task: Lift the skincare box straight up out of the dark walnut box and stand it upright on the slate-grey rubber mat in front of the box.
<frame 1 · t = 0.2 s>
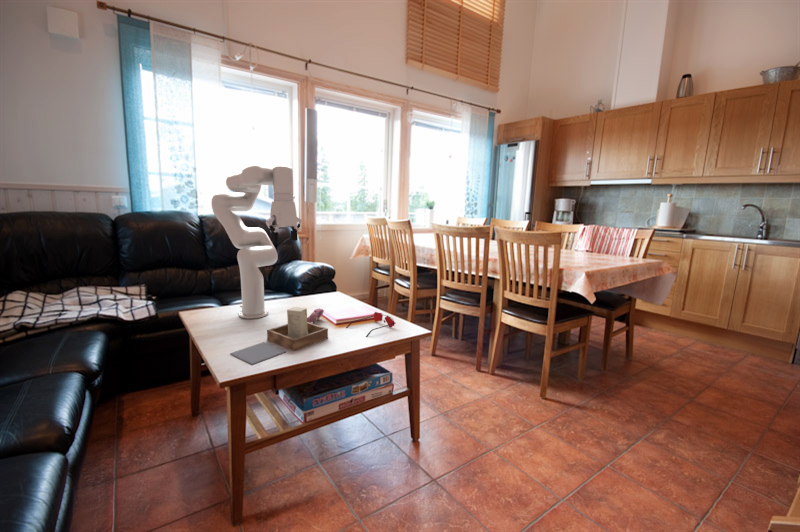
hand: (285, 241, 146), 36 cm above the table, tool pointing down, fingers open, 9 cm apart
glasses: (370, 329, 155), on the table
skincare box: (298, 339, 140), resting in walnut box
grey mat: (258, 353, 126), on the table
pink animal figurine: (314, 322, 161), on the table
walnut box: (298, 339, 140), on the table
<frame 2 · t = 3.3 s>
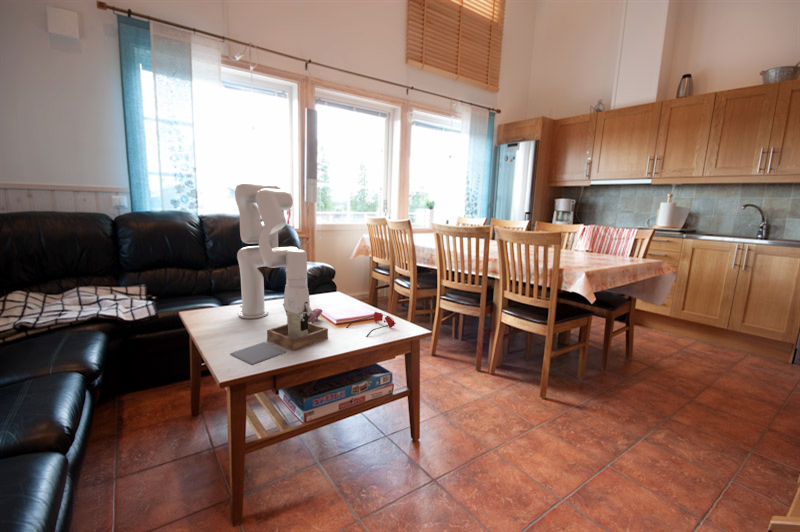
hand: (297, 327, 139), 5 cm above the table, tool pointing down, fingers closed on skincare box, 7 cm apart
skincare box: (298, 339, 140), resting in walnut box, touching gripper
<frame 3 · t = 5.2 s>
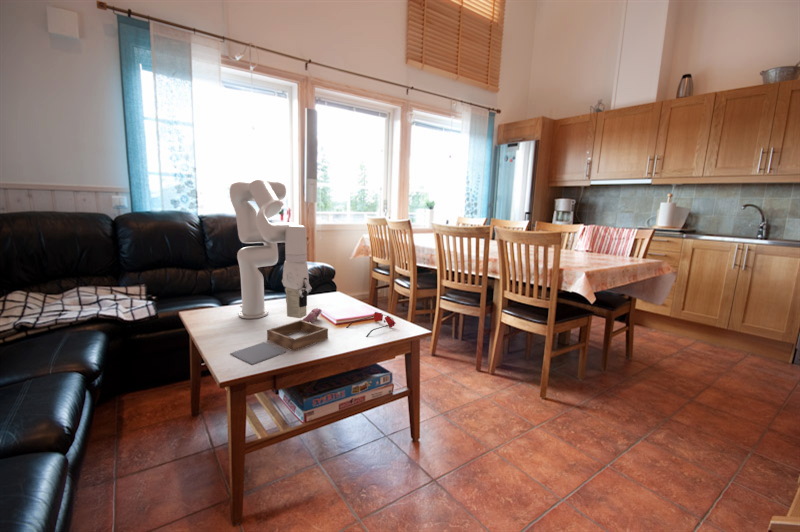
hand: (296, 303, 138), 14 cm above the table, tool pointing down, fingers closed on skincare box, 7 cm apart
skincare box: (296, 316, 139), point 9 cm above the table, touching gripper
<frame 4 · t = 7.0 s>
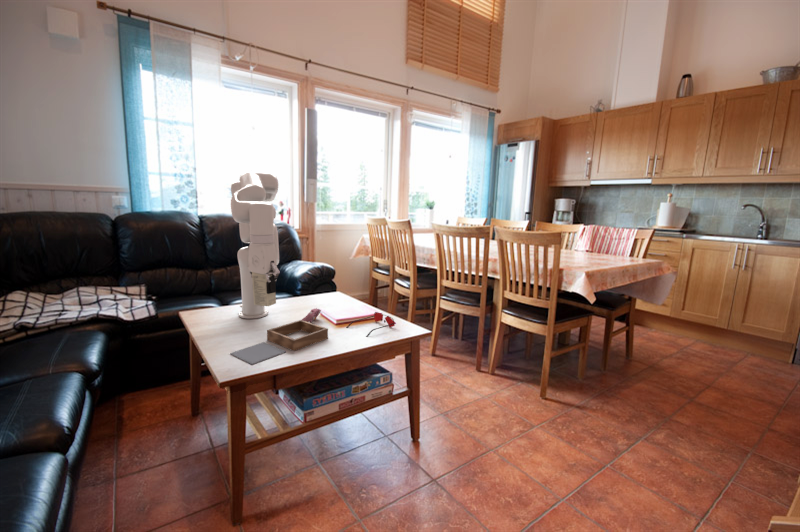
hand: (264, 290, 125), 22 cm above the table, tool pointing down, fingers closed on skincare box, 7 cm apart
skincare box: (264, 304, 126), point 17 cm above the table, touching gripper
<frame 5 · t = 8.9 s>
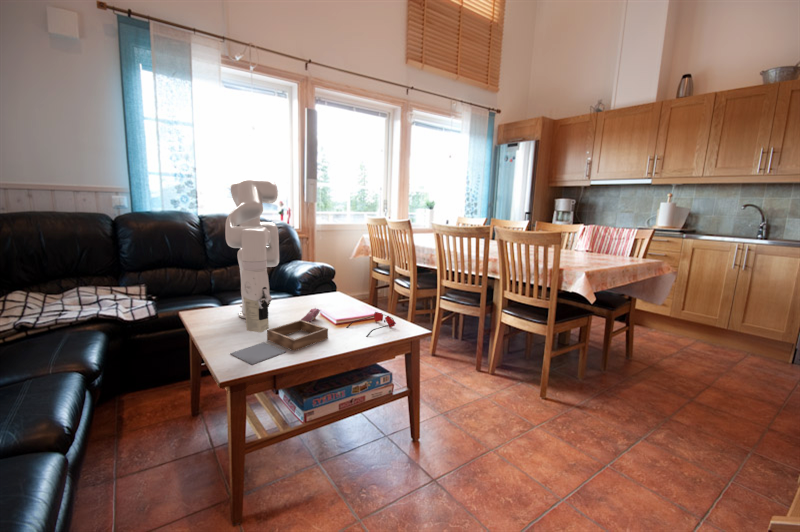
hand: (256, 316, 124), 13 cm above the table, tool pointing down, fingers closed on skincare box, 7 cm apart
skincare box: (257, 330, 125), point 8 cm above the table, touching gripper
when the fingers open (7 cm above the table, at t = 10.7 s): skincare box drops 1 cm, resting on grey mat.
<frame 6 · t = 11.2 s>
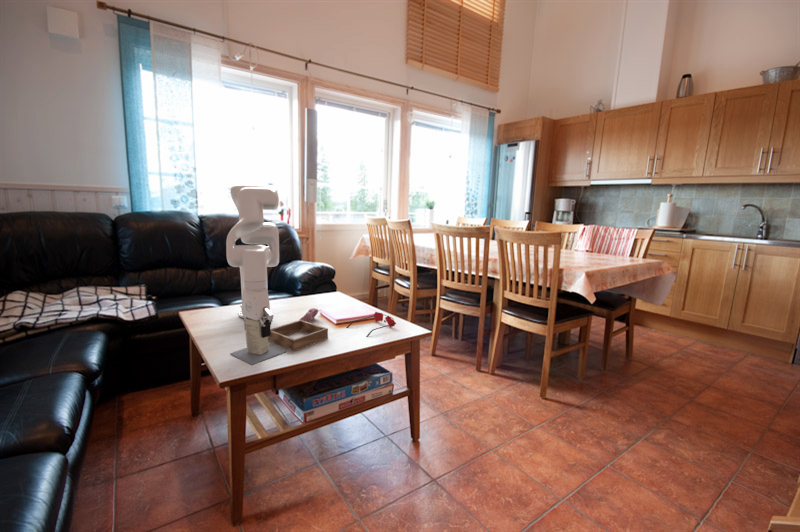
hand: (257, 333, 125), 7 cm above the table, tool pointing down, fingers open, 9 cm apart
skincare box: (257, 352, 127), resting on grey mat
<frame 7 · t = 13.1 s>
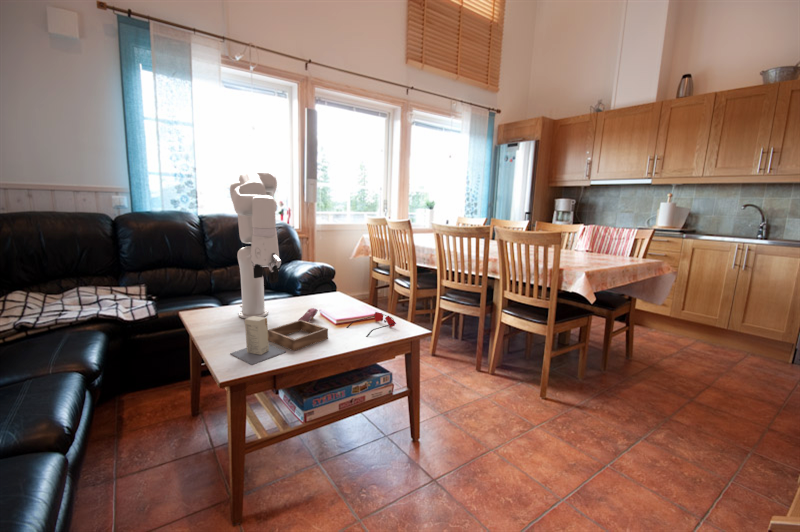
hand: (265, 280, 130), 24 cm above the table, tool pointing down, fingers open, 9 cm apart
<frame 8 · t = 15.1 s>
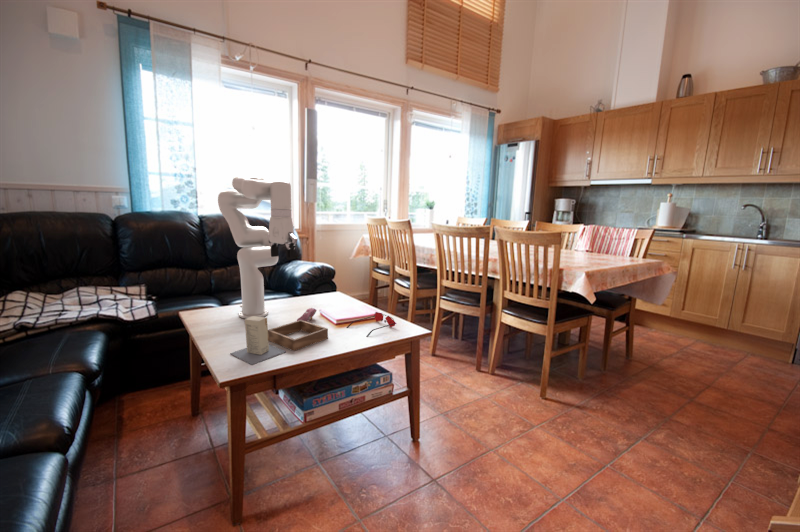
hand: (282, 257, 142), 30 cm above the table, tool pointing down, fingers open, 9 cm apart
at the end: skincare box inside the target area on the grey mat (0.5 cm from its centre), point 0.2 cm above the grey mat's base; skincare box tilted 0°; the gripper is holding nothing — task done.
